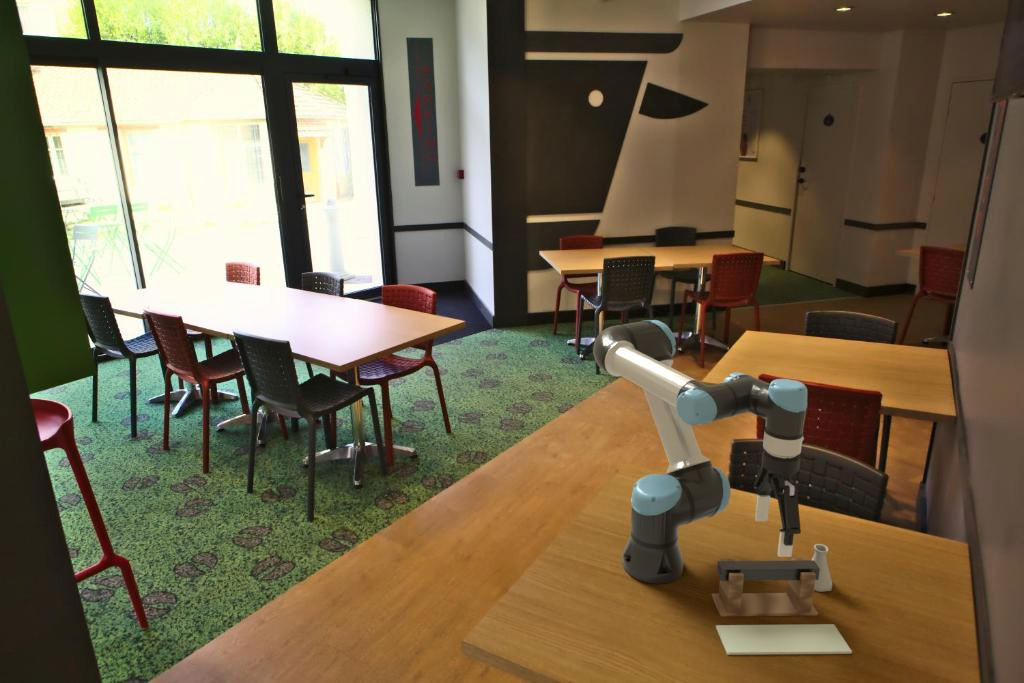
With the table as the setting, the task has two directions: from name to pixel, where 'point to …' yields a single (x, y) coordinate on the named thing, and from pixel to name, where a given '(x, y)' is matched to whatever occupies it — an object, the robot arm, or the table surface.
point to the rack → (766, 597)
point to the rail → (767, 569)
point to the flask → (822, 569)
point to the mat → (782, 639)
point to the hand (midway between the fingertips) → (772, 537)
